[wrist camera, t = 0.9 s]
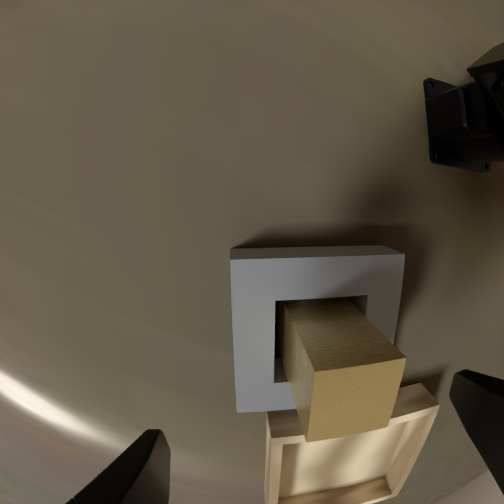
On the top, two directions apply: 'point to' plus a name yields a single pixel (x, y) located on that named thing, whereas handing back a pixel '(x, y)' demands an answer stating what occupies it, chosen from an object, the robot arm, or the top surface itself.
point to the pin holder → (295, 288)
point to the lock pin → (337, 367)
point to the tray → (346, 456)
